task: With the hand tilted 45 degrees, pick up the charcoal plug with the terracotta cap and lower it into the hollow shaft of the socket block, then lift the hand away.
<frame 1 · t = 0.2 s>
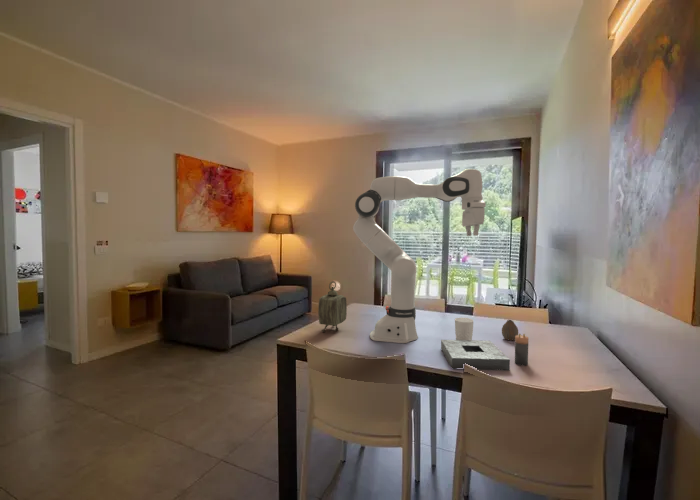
hand: (472, 235, 146), 48 cm above the table, tool pointing down, fingers open, 8 cm apart
tabletop clock: (333, 330, 163), on the table
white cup: (463, 342, 145), on the table
brown textured egg shape: (509, 339, 148), on the table
plug: (521, 363, 121), on the table
socket block: (472, 358, 125), on the table
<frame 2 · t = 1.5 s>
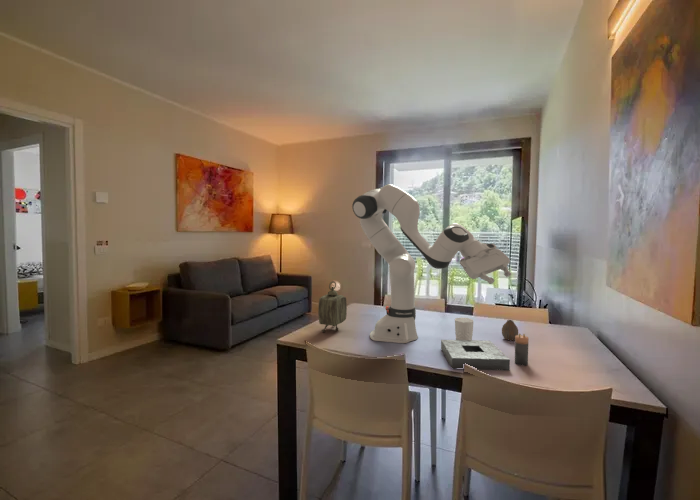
hand: (501, 279, 122), 31 cm above the table, tool tilted 50°, fingers open, 8 cm apart
nothing on the table moved.
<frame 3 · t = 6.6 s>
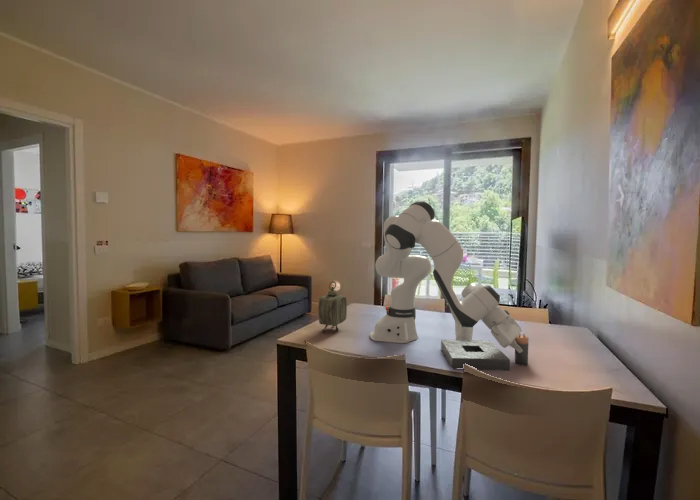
hand: (523, 349, 120), 5 cm above the table, tool tilted 45°, fingers closed on plug, 4 cm apart
plug: (521, 363, 121), on the table, touching gripper
everything else where it was.
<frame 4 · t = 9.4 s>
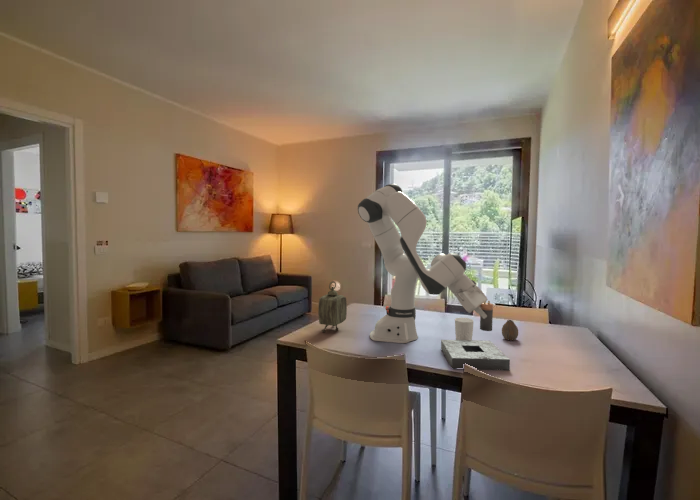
hand: (487, 315, 124), 17 cm above the table, tool tilted 45°, fingers closed on plug, 4 cm apart
plug: (485, 329, 125), point 12 cm above the table, touching gripper
everything else where it was.
when the fingers open (8 cm above the table, at t = 12.4 s): plug drops 2 cm, resting in socket block.
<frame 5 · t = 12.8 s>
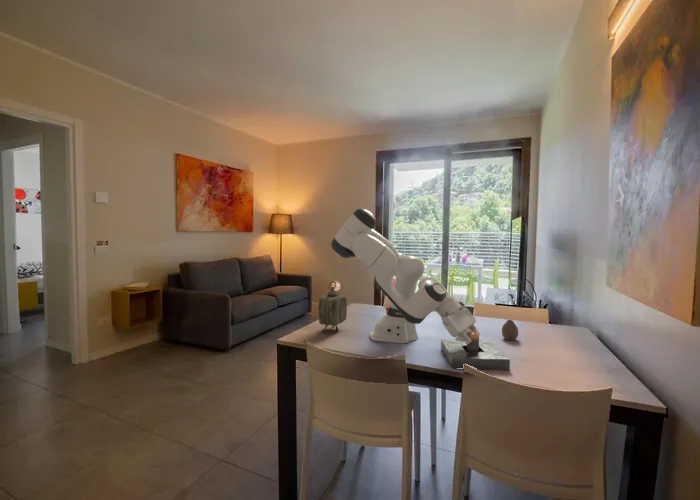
hand: (474, 339, 124), 8 cm above the table, tool tilted 45°, fingers open, 8 cm apart
plug: (472, 358, 125), resting in socket block
everything else where it was.
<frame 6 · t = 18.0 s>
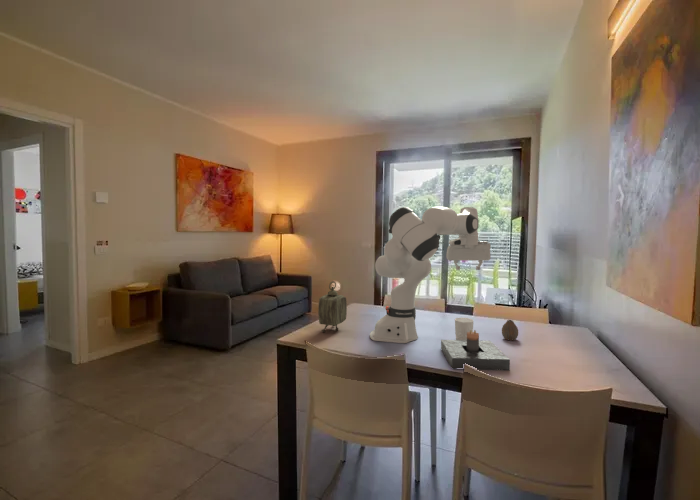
hand: (468, 269, 156), 31 cm above the table, tool pointing down, fingers open, 8 cm apart
nothing on the table moved.
at the end: plug 0.1 cm off-centre on the socket block, point 0.0 cm above the socket block's base; plug tilted 0°; the gripper is holding nothing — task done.
